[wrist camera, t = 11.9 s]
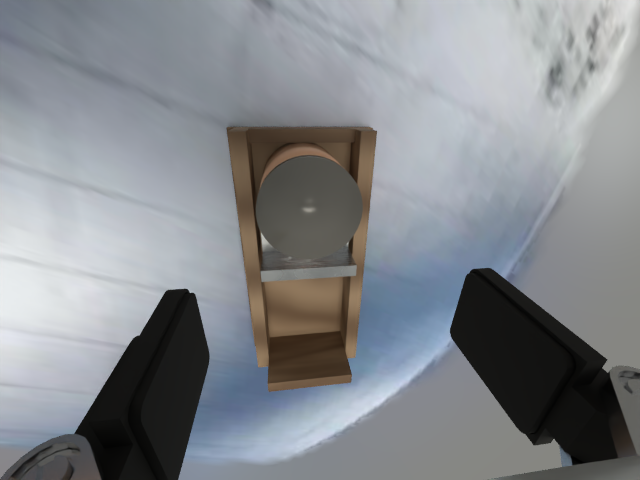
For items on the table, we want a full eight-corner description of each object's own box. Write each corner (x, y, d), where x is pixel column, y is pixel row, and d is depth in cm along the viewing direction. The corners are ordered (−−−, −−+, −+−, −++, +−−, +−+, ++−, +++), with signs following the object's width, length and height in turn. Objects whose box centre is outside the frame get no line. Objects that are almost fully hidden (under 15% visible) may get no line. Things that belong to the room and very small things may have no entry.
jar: (259, 141, 23) (250, 158, 16) (340, 140, 24) (366, 156, 16) (266, 218, 26) (260, 262, 19) (337, 215, 27) (359, 256, 19)
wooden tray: (228, 126, 23) (209, 136, 17) (369, 127, 24) (400, 135, 18) (255, 339, 34) (250, 393, 27) (352, 331, 35) (367, 380, 29)
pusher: (262, 219, 25) (258, 248, 20) (343, 216, 26) (358, 243, 21) (265, 248, 27) (261, 281, 22) (342, 244, 28) (355, 275, 23)
